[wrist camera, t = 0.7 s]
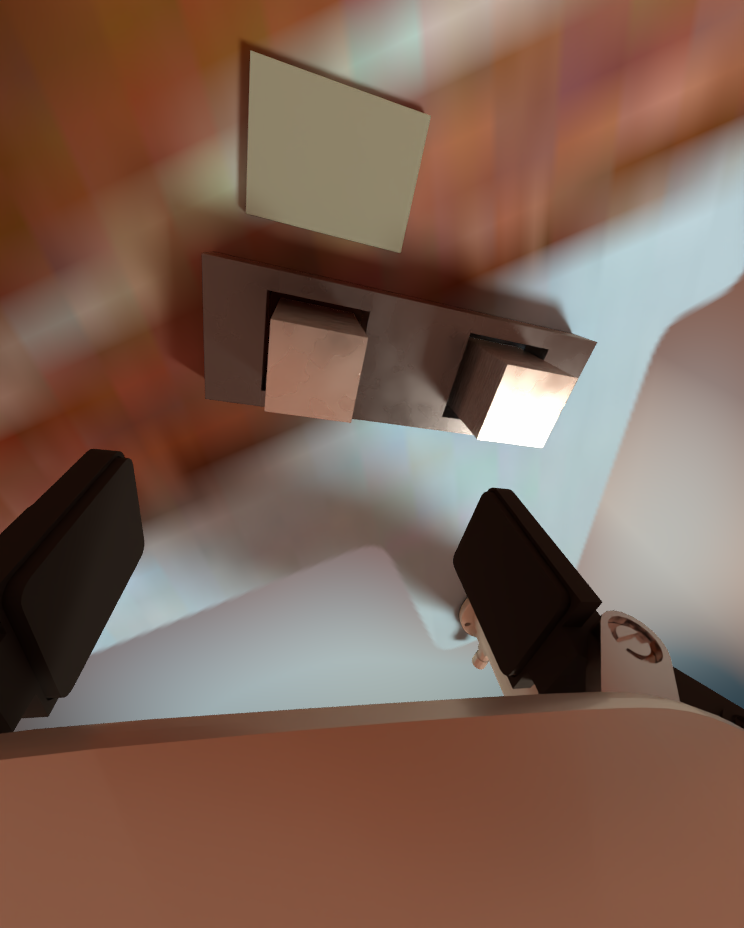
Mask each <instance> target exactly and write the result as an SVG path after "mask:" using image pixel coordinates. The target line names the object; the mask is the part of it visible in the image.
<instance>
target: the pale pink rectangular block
mask: <svg viewBox="0 0 744 928" xmlns="http://www.w3.org/2000/svg"><path fill="white" fill-rule="evenodd" d="M367 341H368V337H367V335H366V334H365V332H364V330H363V329H362V327H361V325H360V323H359V322H358V320H357V318H356V317H355V315H354V313H353V312H348V311H343V310H338V309H333V308H328V307H324V306H319V305H314V304H309V303H304V302H300V301H295V300H290V299H285V298H280V300H279V302H278V304H277V307H276V309H275V311H274V313H273V315H272V317H271V321H270V336H269V351H268V366H267V381H266V397H265V411H267V412H274V413H282V414H289V415H297V416H304V417H312V418H319V419H327V420H334V421H342V422H350V423H351V420H352V415H353V410H354V405H355V400H356V395H357V390H358V385H359V380H360V376H361V371H362V366H363V361H364V356H365V351H366V346H367Z"/></svg>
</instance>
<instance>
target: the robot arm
mask: <svg viewBox="0 0 744 928" xmlns="http://www.w3.org/2000/svg"><path fill="white" fill-rule="evenodd" d="M143 550H144V536H143V529H142V522H141V516H140V509H139V502H138V495H137V488H136V482H135V475H134V468H133V463H132V460H131V459H129V458H125V457H124V455H123V453H122V452H120V451H110V450H100V449H90V450H89V451H87V452H86V453H85V454H84V455H83V456H82V457H81V458H80V459H79V460H78V461H77V462H76V463H75V464H74V465H73V466H72V467H71V468H70V469H69V470H68V471H67V472H66V473H65V474H64V475H63V476H62V477H61V478H60V479H59V480H58V481H57V482H56V483H55V484H53V485H52V486H51V487H50V488H49V489H48V490H47V491H46V492H45V493H44V494H43V495H42V496H41V497H40V498H39V499H38V500H37V501H36V502H35V503H34V504H33V505H31V506H30V507H28V508H27V509H26V510H25V511H24V512H23V513H22V514H21V515H20V516H19V517H18V518H17V519H16V520H15V521H14V522H12V523H11V524H10V525H9V526H8V527H7V528H6V529H5V530H4V531H3V532H2V533H1V534H0V928H744V709H743V708H741V707H739V706H738V705H736V704H734V703H733V702H731V701H729V700H728V699H726V698H724V697H723V696H721V695H719V694H718V693H716V692H714V691H713V690H711V689H709V688H708V687H706V686H704V685H703V684H701V683H699V682H698V681H696V680H694V679H693V678H691V677H689V676H687V675H686V674H684V673H683V672H681V671H679V670H678V669H676V668H674V667H673V666H672V661H671V657H670V655H669V652H668V650H667V648H666V647H665V645H664V644H663V642H662V641H661V639H660V638H659V637H658V636H657V635H656V634H655V633H654V632H653V631H652V630H651V629H649V628H648V627H647V626H646V625H645V624H643V623H642V622H640V621H638V620H637V619H635V618H634V617H632V616H630V615H627V614H625V613H623V612H619V611H614V610H613V611H606V612H605V613H603V614H602V615H601V616H600V615H599V614H598V612H597V611H596V609H597V608H598V607H599V606H600V604H601V603H602V601H601V600H600V599H599V598H598V596H597V595H596V594H595V593H594V591H593V590H592V589H591V587H589V585H588V584H587V583H586V581H585V580H584V579H583V578H582V576H581V575H580V574H579V573H578V571H577V570H576V569H575V568H574V566H573V565H572V564H571V563H570V562H569V560H568V559H567V558H566V557H565V555H564V554H563V553H562V552H561V550H560V549H559V548H558V547H557V545H556V544H555V543H554V542H553V540H552V539H551V538H550V537H549V536H548V534H547V533H546V532H545V531H544V529H543V528H542V527H541V526H540V524H539V523H538V522H537V521H536V519H535V518H534V517H533V516H532V515H531V513H530V512H529V511H528V510H527V508H526V507H525V506H524V505H523V503H522V502H521V501H520V500H519V498H518V497H517V496H516V495H515V493H514V492H513V491H512V490H509V489H501V488H490V489H489V490H488V491H487V492H484V493H483V494H482V496H481V498H480V500H479V502H478V504H477V507H476V509H475V511H474V513H473V515H472V517H471V520H470V522H469V524H468V526H467V528H466V530H465V533H464V535H463V537H462V539H461V541H460V543H459V546H458V548H457V550H456V552H455V554H454V558H453V564H454V568H455V570H456V572H457V574H458V577H459V579H460V581H461V583H462V586H463V588H464V590H465V592H466V595H467V597H468V598H467V599H466V600H465V602H464V603H463V605H462V607H461V609H460V613H459V619H460V622H461V625H462V627H463V629H464V630H465V631H466V633H468V634H470V635H471V636H474V637H477V639H478V642H479V645H478V649H479V650H478V651H477V652H476V654H475V655H474V657H473V658H472V662H473V665H474V666H475V667H476V668H478V669H483V668H484V667H485V666H486V665H487V663H488V662H489V661H490V664H491V666H492V668H493V671H494V673H495V676H496V678H497V680H498V683H499V685H500V687H501V689H502V692H503V694H504V696H499V697H482V698H465V699H449V700H434V701H417V702H401V703H385V704H369V705H355V706H339V707H323V708H308V709H294V710H278V711H264V712H250V713H236V714H221V715H207V716H192V717H178V718H164V719H150V720H138V721H125V722H114V723H103V724H91V725H79V726H67V727H56V728H45V729H33V730H26V731H18V732H13V731H14V730H15V728H16V726H17V724H18V723H19V721H20V720H21V718H34V717H48V716H49V714H50V713H51V711H52V709H53V707H54V705H55V703H56V702H57V699H58V698H62V697H66V696H67V695H68V694H69V693H70V692H71V690H72V689H73V687H74V685H75V683H76V681H77V679H78V677H79V675H80V673H81V671H82V670H83V668H84V666H85V664H86V662H87V660H88V658H89V656H90V654H91V652H92V650H93V648H94V647H95V645H96V643H97V641H98V639H99V637H100V635H101V633H102V631H103V629H104V627H105V625H106V623H107V622H108V620H109V618H110V616H111V614H112V612H113V610H114V608H115V606H116V604H117V602H118V600H119V598H120V597H121V595H122V593H123V591H124V589H125V587H126V585H127V583H128V581H129V579H130V577H131V575H132V573H133V572H134V570H135V568H136V566H137V564H138V562H139V560H140V558H141V556H142V553H143Z"/></svg>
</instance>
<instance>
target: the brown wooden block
mask: <svg viewBox="0 0 744 928" xmlns="http://www.w3.org/2000/svg"><path fill="white" fill-rule="evenodd" d="M577 379H578V378H577V377H575V376H573V375H571V374H569V373H567V372H565V371H563V370H561V369H559V368H557V367H555V366H554V365H552V364H550V363H548V362H546V361H544V360H542V359H540V358H538V357H536V356H534V355H532V354H530V353H528V352H526V351H524V350H523V349H521V348H519V347H516V346H511V345H506V344H502V343H497V342H492V341H487V340H482V339H477V338H473V337H469V339H468V342H467V345H466V348H465V351H464V354H463V356H462V359H461V362H460V365H459V368H458V371H457V374H456V377H455V380H454V383H453V386H452V389H451V392H450V395H449V398H448V400H447V404H448V405H449V406H450V408H451V409H452V410H453V411H454V412H455V414H456V415H457V416H458V417H459V418H460V419H461V421H462V422H463V423H464V424H465V425H466V427H467V428H468V429H469V430H470V431H471V433H472V434H473V435H474V436H475V437H476V438H477V439H479V440H487V441H495V442H502V443H510V444H517V445H525V446H532V447H540V448H542V447H543V445H544V443H545V441H546V439H547V437H548V435H549V433H550V431H551V429H552V427H553V425H554V423H555V422H556V420H557V418H558V416H559V414H560V412H561V410H562V408H563V406H564V404H565V402H566V400H567V399H568V397H569V395H570V393H571V391H572V389H573V387H574V385H575V383H576V381H577Z"/></svg>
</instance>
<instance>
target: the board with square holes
mask: <svg viewBox="0 0 744 928" xmlns="http://www.w3.org/2000/svg"><path fill="white" fill-rule="evenodd" d="M202 287H203V327H204V368H205V399H210V400H218V401H225V402H232V403H240V404H247V405H255V406H262V407H265V397H266V381H267V377H265V373H266V357H267V342H268V326H269V310H270V295H271V291H275V292H280V293H284V294H289V295H294V296H299V297H303V298H308V299H313V300H317V301H322V302H327V303H332V304H336V305H341V306H346V307H351V308H355V309H360V310H363V313H362V319H361V324H360V325H361V327H362V329H363V330H364V332H365V334H366V335H367V337H368V341H367V346H366V351H365V356H364V361H363V366H362V371H361V376H360V380H359V385H358V390H357V395H356V400H355V405H354V410H353V415H352V419H358V420H366V421H373V422H381V423H388V424H396V425H403V426H410V427H418V428H425V429H433V430H440V431H447V432H455V433H462V434H470V435H473V434H472V433H471V431H470V430H469V429H468V428H467V427H466V425H465V424H464V423H463V422H462V421H461V419H460V418H459V417H458V416H457V415H456V414H455V412H454V411H453V410H452V409H451V408H450V406H449V405H446V403H447V400H448V398H449V395H450V392H451V389H452V386H453V383H454V380H455V377H456V374H457V371H458V368H459V365H460V362H461V359H462V356H463V354H464V351H465V348H466V345H467V342H468V339H469V336H470V333H474V334H478V335H483V336H488V337H493V338H497V339H502V340H507V341H512V342H516V343H521V344H526V347H525V349H524V351H526V352H528V353H530V354H532V355H534V356H536V357H538V358H540V359H542V360H544V361H546V362H548V363H550V364H552V365H554V366H555V367H557V368H559V369H561V370H563V371H565V372H567V373H569V374H571V375H573V376H575V377H577V378H579V376H580V374H581V372H582V370H583V368H584V366H585V365H586V363H587V361H588V359H589V357H590V355H591V353H592V351H593V349H594V347H595V345H596V343H597V342H595V341H592V340H589V339H586V338H584V337H581V336H578V335H575V334H572V333H568V332H564V331H559V330H555V329H551V328H546V327H542V326H537V325H533V324H529V323H524V322H520V321H515V320H511V319H507V318H502V317H498V316H494V315H489V314H485V313H480V312H476V311H472V310H467V309H463V308H458V307H454V306H450V305H445V304H441V303H437V302H432V301H428V300H423V299H419V298H415V297H410V296H406V295H401V294H397V293H393V292H388V291H384V290H380V289H375V288H371V287H366V286H362V285H358V284H353V283H349V282H344V281H340V280H336V279H331V278H327V277H323V276H318V275H314V274H309V273H305V272H301V271H296V270H292V269H288V268H283V267H279V266H274V265H270V264H266V263H261V262H257V261H252V260H248V259H244V258H239V257H235V256H231V255H226V254H222V253H217V252H206V253H202ZM577 380H578V379H577ZM576 382H577V381H576ZM575 384H576V383H575ZM574 386H575V385H574ZM573 388H574V387H573ZM572 390H573V389H572ZM566 401H567V400H566ZM565 403H566V402H565ZM564 405H565V404H564ZM563 407H564V406H563ZM562 409H563V408H562ZM561 411H562V410H561ZM560 413H561V412H560ZM554 424H555V423H554ZM553 426H554V425H553ZM552 428H553V427H552ZM551 430H552V429H551ZM550 432H551V431H550ZM549 434H550V433H549ZM548 436H549V435H548Z"/></svg>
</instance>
